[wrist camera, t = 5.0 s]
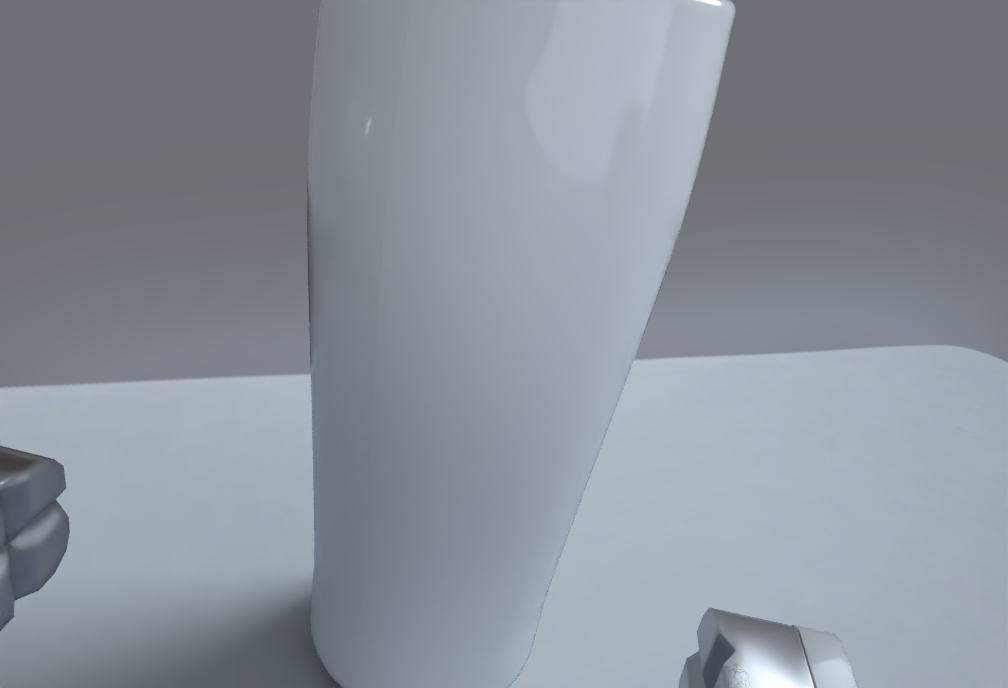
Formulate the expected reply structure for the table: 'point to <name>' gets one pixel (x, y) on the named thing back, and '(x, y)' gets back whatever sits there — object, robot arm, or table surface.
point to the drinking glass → (480, 301)
